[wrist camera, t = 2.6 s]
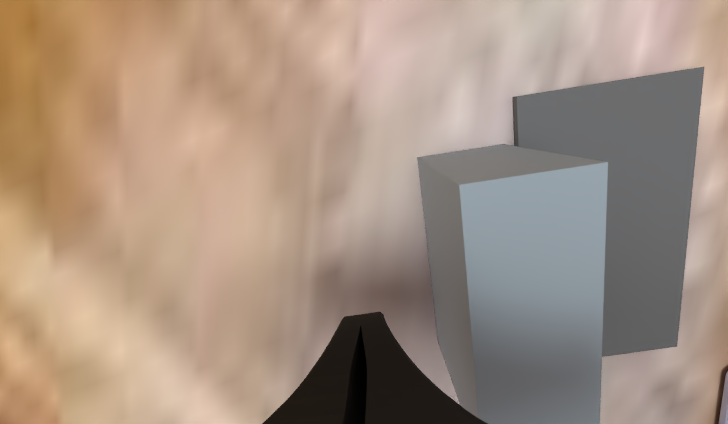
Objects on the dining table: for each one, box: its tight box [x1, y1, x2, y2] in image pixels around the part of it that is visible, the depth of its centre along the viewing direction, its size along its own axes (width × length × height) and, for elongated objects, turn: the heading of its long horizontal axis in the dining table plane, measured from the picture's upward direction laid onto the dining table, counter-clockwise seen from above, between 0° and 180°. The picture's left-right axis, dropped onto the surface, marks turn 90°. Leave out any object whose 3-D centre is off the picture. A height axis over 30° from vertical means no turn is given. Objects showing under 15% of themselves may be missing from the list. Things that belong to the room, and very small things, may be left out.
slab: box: [417, 144, 608, 424], centre depth 14 cm, size 4×10×7 cm, turn 9°
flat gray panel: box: [513, 67, 704, 357], centre depth 17 cm, size 8×14×1 cm, turn 9°
